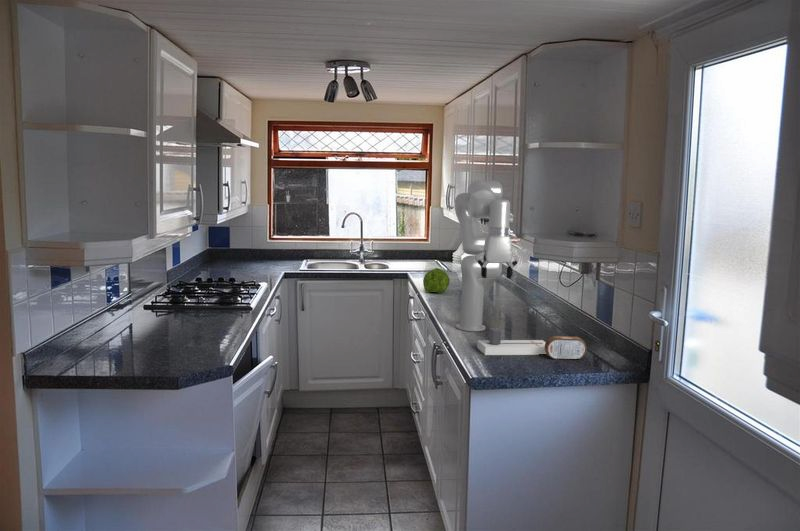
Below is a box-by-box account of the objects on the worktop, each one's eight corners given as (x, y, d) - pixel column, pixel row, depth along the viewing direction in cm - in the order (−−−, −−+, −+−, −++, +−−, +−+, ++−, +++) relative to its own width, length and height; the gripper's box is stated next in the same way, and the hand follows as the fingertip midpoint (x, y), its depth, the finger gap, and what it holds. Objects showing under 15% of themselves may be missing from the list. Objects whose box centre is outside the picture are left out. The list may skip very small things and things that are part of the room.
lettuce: (424, 288, 384) (449, 292, 383) (420, 292, 360) (447, 296, 358) (428, 264, 383) (453, 268, 382) (424, 266, 359) (451, 270, 358)
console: (477, 347, 247) (477, 339, 247) (541, 347, 252) (542, 339, 251) (485, 355, 237) (485, 346, 237) (552, 354, 242) (552, 346, 242)
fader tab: (488, 340, 245) (489, 327, 244) (496, 340, 245) (497, 327, 245) (492, 344, 240) (493, 331, 239) (500, 344, 241) (501, 331, 240)
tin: (584, 358, 238) (585, 336, 237) (586, 361, 235) (588, 338, 234) (543, 357, 238) (545, 335, 237) (545, 359, 235) (547, 337, 234)
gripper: (517, 232, 247) (515, 277, 249) (473, 231, 244) (471, 276, 246) (524, 233, 240) (522, 279, 241) (479, 232, 237) (477, 278, 238)
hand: (496, 278), depth 243 cm, fingers open, 9 cm apart
